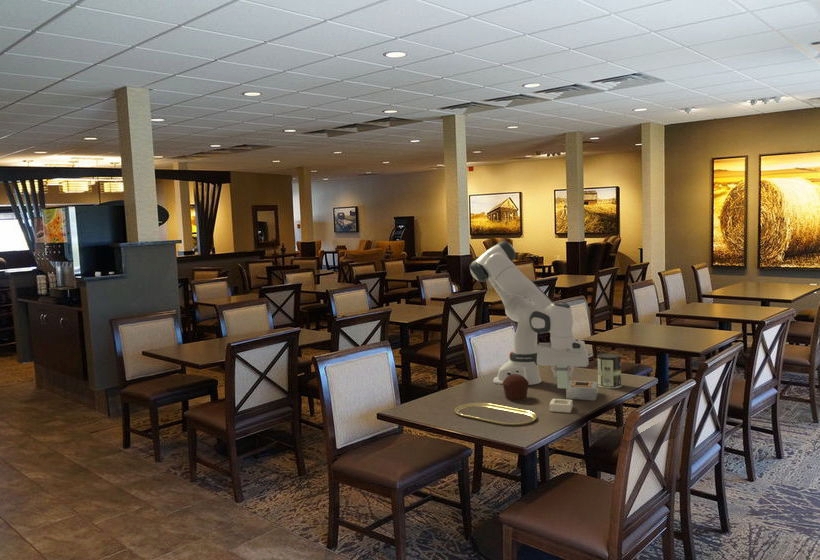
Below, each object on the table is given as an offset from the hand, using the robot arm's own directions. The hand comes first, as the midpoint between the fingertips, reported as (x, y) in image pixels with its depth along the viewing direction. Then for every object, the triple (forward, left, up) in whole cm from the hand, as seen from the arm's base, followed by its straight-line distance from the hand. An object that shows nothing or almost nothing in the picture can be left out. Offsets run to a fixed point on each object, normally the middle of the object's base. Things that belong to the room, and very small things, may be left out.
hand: (562, 376), depth 257 cm
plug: (0, 0, -4) cm, 4 cm away
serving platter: (-25, -15, -14) cm, 32 cm away
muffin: (-22, +12, -13) cm, 28 cm away
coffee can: (+15, +41, -13) cm, 46 cm away
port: (+5, +21, -13) cm, 26 cm away
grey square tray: (-1, -1, -13) cm, 13 cm away
